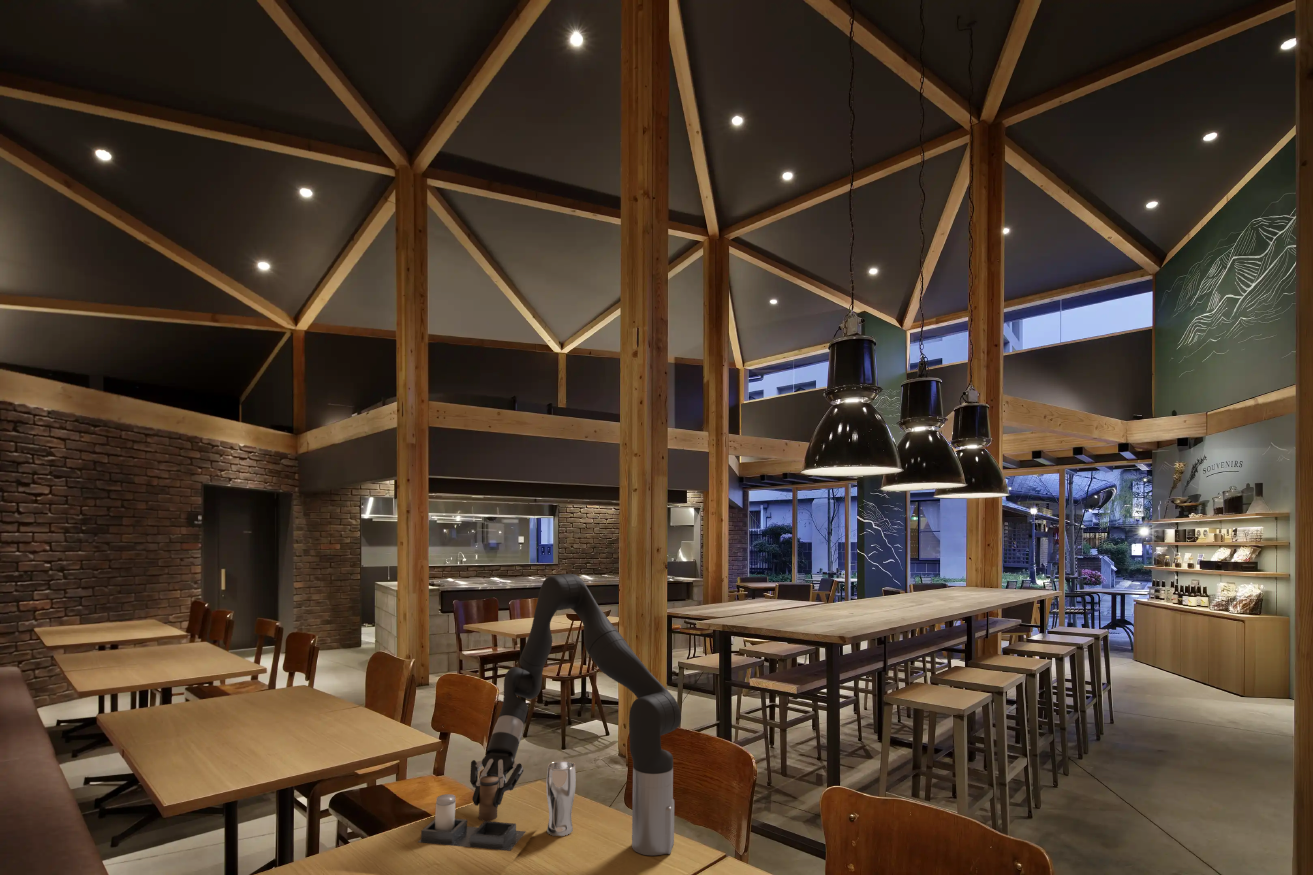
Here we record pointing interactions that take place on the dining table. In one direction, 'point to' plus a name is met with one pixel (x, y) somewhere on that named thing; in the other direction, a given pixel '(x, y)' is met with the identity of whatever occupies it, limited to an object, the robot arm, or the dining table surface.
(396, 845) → the dining table surface
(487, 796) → the brown wooden cylinder
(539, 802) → the dining table surface
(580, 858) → the dining table surface
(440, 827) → the salt shaker
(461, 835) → the condiment caddy
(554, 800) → the beer glass
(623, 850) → the dining table surface
